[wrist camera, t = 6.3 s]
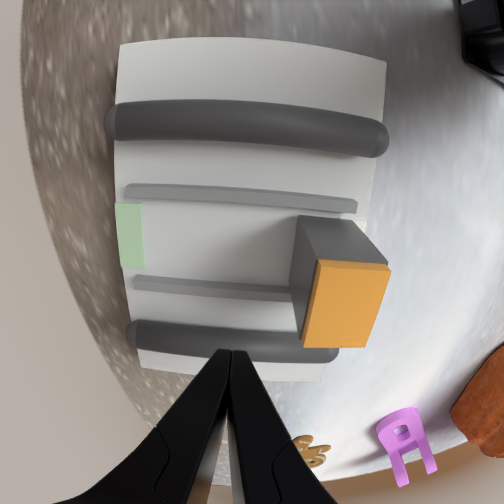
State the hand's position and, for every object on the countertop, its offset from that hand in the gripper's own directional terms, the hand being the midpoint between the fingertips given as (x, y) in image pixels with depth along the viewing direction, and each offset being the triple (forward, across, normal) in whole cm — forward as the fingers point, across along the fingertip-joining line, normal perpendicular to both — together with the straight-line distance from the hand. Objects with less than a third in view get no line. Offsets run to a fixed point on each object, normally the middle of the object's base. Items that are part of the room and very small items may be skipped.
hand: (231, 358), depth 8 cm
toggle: (+9, -4, 0) cm, 9 cm away
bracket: (+11, -22, +25) cm, 35 cm away
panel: (+11, 0, 0) cm, 11 cm away
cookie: (+11, -9, +29) cm, 32 cm away
